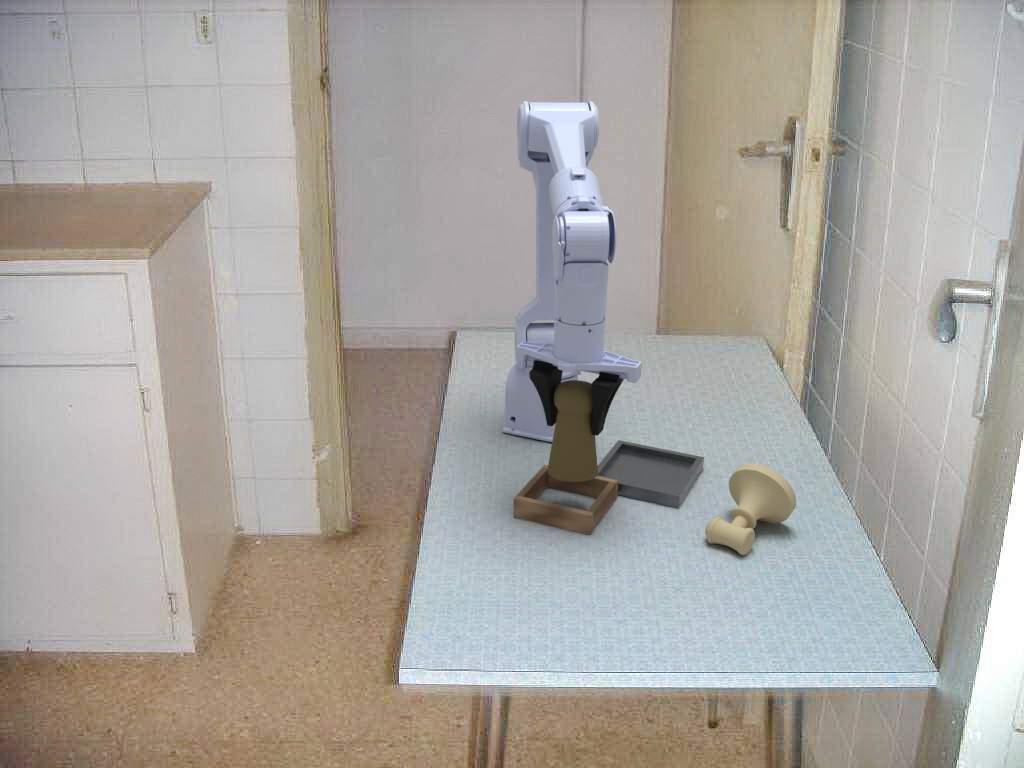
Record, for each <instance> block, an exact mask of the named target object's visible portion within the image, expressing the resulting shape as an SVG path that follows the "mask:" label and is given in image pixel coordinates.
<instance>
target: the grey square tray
mask: <svg viewBox="0 0 1024 768" xmlns="http://www.w3.org/2000/svg"><path fill="white" fill-rule="evenodd" d="M704 464H705V457H704V456H699V455H695V454H689V453H684V452H681V451H676V450H675V451H674V450H669V449H664V448H660V447H654V446H650V445H644V444H639V443H634V442H630V441H624V440H619V439H618V440H617V442H615V444H614V445H613V446H612V447H611V449H610V450H609V451H608V452H607V454H606V455H605V456H604V457H603V458H602V460H601V461H600V462H599V464H597V466H598V475H597V476H601V477H605V478H610V479H615V480H618V491H617V496H622V497H627V498H631V499H635V500H640V501H644V502H649V503H653V504H659V505H663V506H667V507H672V508H676V509H679V508H680V507H681V505H682V504H683V502H684V501H685V499H686V497H687V496H688V494H689V492H690V491H691V489H692V488H693V486H694V484H695V483H696V481H697V479H698V477H699V476H700V475H701V472H702V471H703V469H704V466H705V465H704Z"/></svg>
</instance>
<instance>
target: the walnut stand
mask: <svg viewBox="0 0 1024 768" xmlns="http://www.w3.org/2000/svg"><path fill="white" fill-rule="evenodd" d="M547 469H548V464H543V466H541V468H540V469H539V470H538V471H537V472H536V473H535V474H534V476H532V478H531V479H530V480H529V481H528V482H527V483H526V484H525V486H523V487H522V488H521V490H520V491H519V492H518V493H517V494H516V495H515V496H514V497H513V511H512V512H513V515H512V516H513V517H514V518H516V519H521V520H524V521H530V522H533V523H539V524H542V525H546V526H550V527H555V528H559V529H563V530H567V531H572V532H576V533H580V534H583V535H589V536H591V535H592V533H593V532H594V530H595V529H596V528H597V526H599V524H600V522H601V521H602V519H603V518H604V517H605V516H606V514H607V513H608V512H609V510H610V508H611V507H612V506H613V505H614V504H615V502H616V501H617V500H618V495H617V491H618V480H615V479H610V478H605V477H601V476H596V477H595V478H593V479H591V480H588V481H582V482H569V481H563V480H559V479H556V478H553V477H552V476H550V475H549V474H548V472H547ZM547 488H552V489H553V488H554V489H559V490H563V491H566V492H572V493H576V494H579V495H580V494H581V495H585V496H589V497H594V498H596V499H595V500H594V501H593V503H592V504H591V505H590V507H589V508H588V509H587V510H584V509H583V510H582V509H578V508H574V507H569V506H566V505H562V504H556V503H552V502H547V501H543V500H539V499H538V498H539V497H540V496H541V495H542V494H543V493H544V491H545V490H546V489H547Z"/></svg>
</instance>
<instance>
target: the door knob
mask: <svg viewBox="0 0 1024 768" xmlns="http://www.w3.org/2000/svg"><path fill="white" fill-rule="evenodd" d="M728 489H729V493H730V496H731V497H732V499H733V501H734V502H735V504H736V505H737V507H735V508H733V509H732V510H731V512H730V517H731V520H732V522H731V523H729V522H727V521H725V520H724V518H722V517H720V516H716V517H713V519H712V520H709V521H708V522H707V523H706V525H705V529H704V533H705V537H706V539H707V542H708V543H709V544H712V545H713V544H718V545H723V546H727V547H729V548H731V549H732V550H735V551H736V552H737V553H738V554H739V555H741V556H747V555H748V554H749V552H750V551H751V550H752V548H753V545H754V543H755V540H756V539H755V537H756V534H755V530H754V528H756V526H757V521H758V519H759V521H761V520H762V521H761V522H764V521H765V522H764V523H767V522H768V524H780V523H782V522H786V521H787V519H789V518H790V516H791V515H792V513H794V510H795V508H796V505H797V497H796V493H795V490H794V489H793V487H792V485H791V484H790V483H789V481H788V480H787V479H786V478H785V477H784V476H783V475H782V474H781V473H779V472H778V471H776V470H775V469H773V468H772V467H768V466H766V465H764V464H760V463H755V462H750V463H749V462H748V463H744V464H743V463H742V465H739V466H738V467H737V468H736V469H735V470H734V472H733V473H732V475H730V478H729V480H728Z"/></svg>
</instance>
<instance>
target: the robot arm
mask: <svg viewBox="0 0 1024 768" xmlns="http://www.w3.org/2000/svg"><path fill="white" fill-rule="evenodd" d="M517 108H518V109H517V124H516V136H517V160H518V161H519V167H520V168H522V169H525V170H526V171H527V172H528V171H529V172H530V173H531V174H532V178H533V183H534V187H535V241H536V242H535V244H536V245H535V253H536V255H535V260H536V261H535V263H536V266H535V267H536V268H535V271H536V275H535V276H536V277H535V279H536V282H535V284H536V285H535V286H536V290H535V291H536V292H535V293H536V296H535V297H534V298H533V299H532V300H531V301H529V302H528V303H526V304H525V305H524V306H522V307H521V308H520V309H519V310H518V312H517V315H516V316H515V328H514V359H515V364H513V365H512V366H511V368H510V370H509V372H508V375H507V379H506V382H505V390H504V393H505V394H504V395H505V396H504V426H503V428H502V433H506V434H510V435H515V436H521V437H525V438H529V439H535V440H540V441H544V442H549V443H552V441H553V436H554V430H555V425H556V419H557V414H558V409H557V407H556V406H555V403H554V392H555V389H556V387H557V386H558V385H559V384H560V383H562V382H564V381H569V380H579V376H581V375H582V372H584V373H590V374H596V375H598V377H596V378H595V379H594V380H593V381H592V382H591V389H592V396H593V419H592V435H595V437H596V436H599V435H601V433H602V432H603V431H604V427H605V423H606V419H607V415H608V413H609V410H610V407H611V405H612V402H613V400H614V399H615V396H616V394H617V392H618V391H619V388H620V387H621V385H622V384H623V382H624V381H625V380H626V381H627V382H628V383H632V384H636V383H638V381H639V380H640V379H641V378H642V369H643V366H642V365H643V362H642V361H639V360H635V359H631V358H627V357H625V356H622V355H620V354H617V353H614V352H613V353H612V352H610V351H607V350H605V334H606V333H605V332H606V320H607V319H606V318H607V317H606V316H607V302H608V301H607V299H608V283H609V281H608V279H609V264H613V262H614V259H615V255H616V249H617V240H618V239H617V236H618V235H617V224H616V220H615V214H614V212H613V210H612V209H611V208H610V209H609V206H607V205H604V200H603V198H602V197H603V196H602V193H601V189H600V185H599V184H600V183H599V179H598V177H597V176H596V175H595V173H594V172H593V171H592V170H590V169H589V168H587V167H588V166H589V163H590V161H591V160H592V158H593V155H594V153H595V149H596V148H597V146H598V142H599V136H600V135H599V134H600V118H599V117H600V116H599V114H600V113H599V109H598V107H597V105H596V104H595V103H594V102H593V101H587V102H554V101H553V102H551V101H550V102H548V101H547V102H543V101H541V102H535V101H534V102H533V101H532V102H531V101H530V102H529V101H527V100H524V101H522V102H521V103H520V104H519V106H518V107H517ZM608 262H609V264H608ZM552 320H554V322H535V321H552Z"/></svg>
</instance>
